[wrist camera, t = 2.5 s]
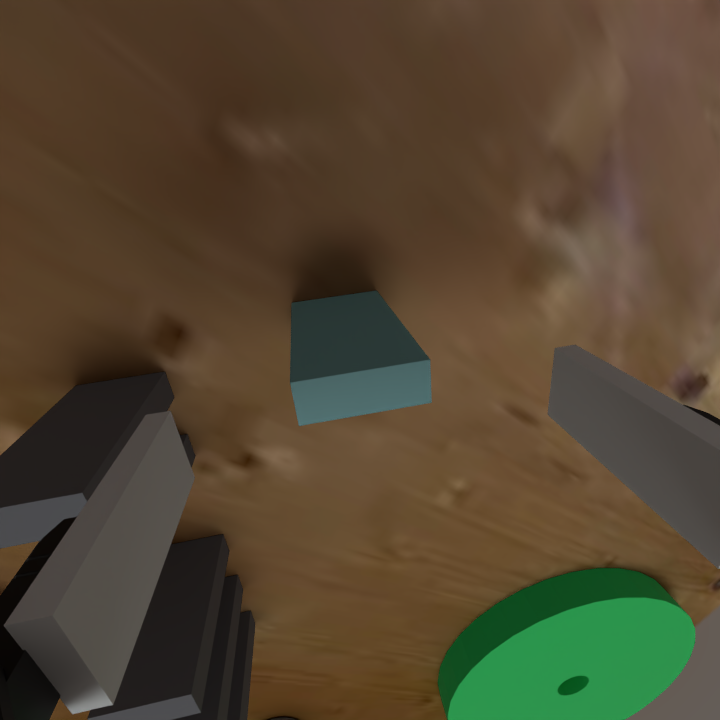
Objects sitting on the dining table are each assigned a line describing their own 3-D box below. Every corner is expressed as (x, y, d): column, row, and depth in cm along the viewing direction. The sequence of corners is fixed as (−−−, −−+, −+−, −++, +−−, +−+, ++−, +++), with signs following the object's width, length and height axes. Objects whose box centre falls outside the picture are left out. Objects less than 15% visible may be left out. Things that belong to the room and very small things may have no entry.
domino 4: (189, 624, 32) (148, 796, 23) (250, 610, 33) (234, 774, 24) (195, 637, 33) (158, 808, 24) (255, 623, 33) (241, 786, 24)
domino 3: (172, 588, 30) (120, 760, 21) (237, 574, 31) (214, 737, 22) (179, 603, 31) (132, 775, 22) (243, 589, 31) (222, 752, 22)
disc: (459, 743, 49) (470, 780, 46) (412, 622, 37) (422, 660, 34) (660, 672, 49) (684, 703, 46) (676, 530, 38) (709, 560, 35)
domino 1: (75, 385, 22) (-70, 520, 13) (164, 371, 23) (82, 492, 14) (88, 411, 23) (-42, 556, 14) (174, 397, 24) (101, 528, 15)
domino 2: (152, 548, 28) (87, 718, 19) (223, 534, 29) (191, 694, 20) (160, 564, 29) (101, 736, 20) (229, 551, 29) (200, 712, 20)
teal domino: (291, 302, 22) (290, 382, 13) (376, 290, 23) (430, 359, 14) (297, 331, 23) (299, 426, 14) (379, 319, 24) (431, 402, 15)
